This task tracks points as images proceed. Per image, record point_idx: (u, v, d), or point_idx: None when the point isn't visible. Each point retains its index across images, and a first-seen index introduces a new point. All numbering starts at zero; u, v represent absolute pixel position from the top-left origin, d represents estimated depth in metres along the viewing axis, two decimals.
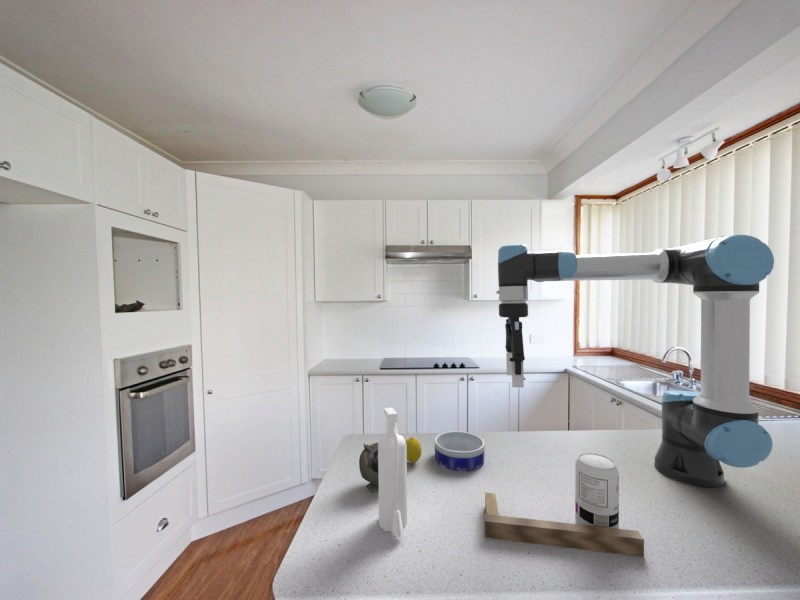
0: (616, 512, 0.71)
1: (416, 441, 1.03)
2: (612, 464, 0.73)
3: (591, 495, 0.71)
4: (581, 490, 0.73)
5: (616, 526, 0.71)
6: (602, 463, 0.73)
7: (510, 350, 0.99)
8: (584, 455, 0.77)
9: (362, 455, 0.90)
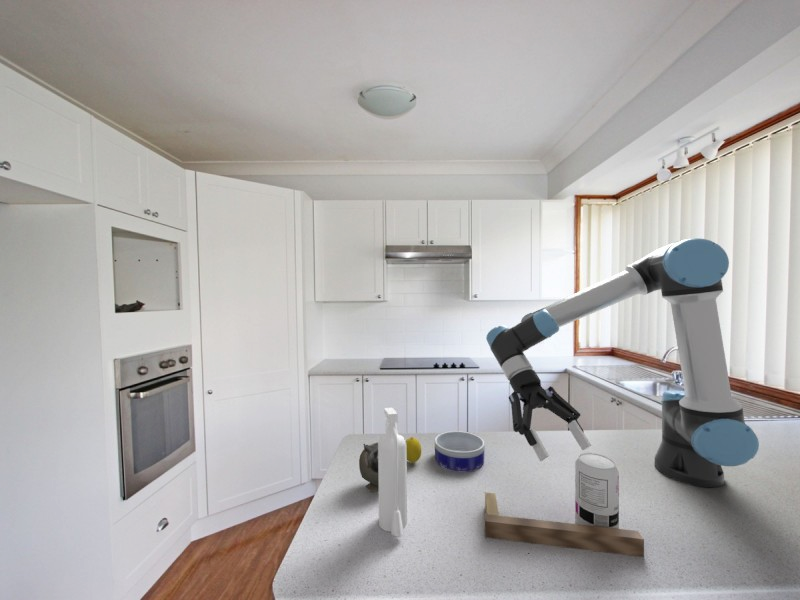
0: (616, 512, 0.71)
1: (416, 441, 1.03)
2: (612, 464, 0.73)
3: (591, 495, 0.71)
4: (581, 490, 0.73)
5: (616, 526, 0.71)
6: (602, 463, 0.73)
7: (570, 420, 0.88)
8: (584, 455, 0.77)
9: (362, 455, 0.90)
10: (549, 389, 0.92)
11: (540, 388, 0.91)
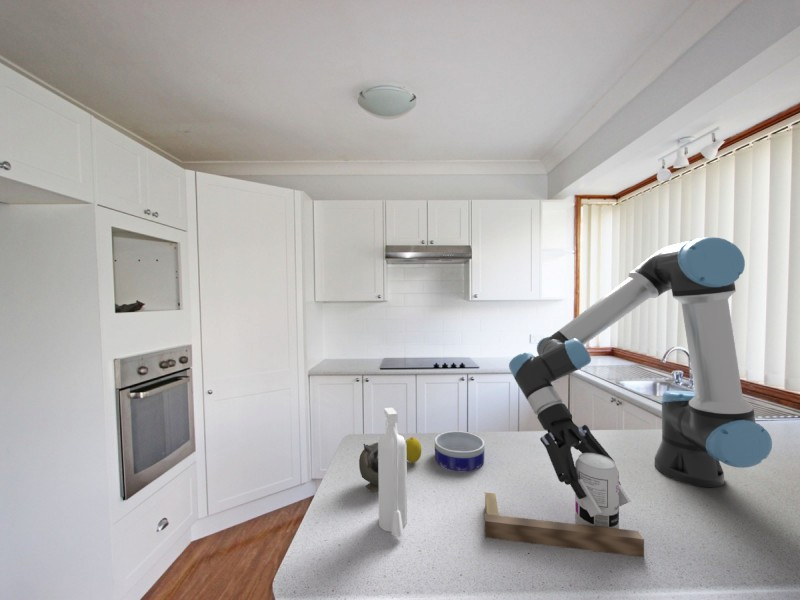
0: (616, 512, 0.71)
1: (416, 441, 1.03)
2: (612, 464, 0.73)
3: (592, 495, 0.71)
4: None
5: (616, 526, 0.71)
6: (602, 463, 0.73)
7: None
8: (584, 455, 0.77)
9: (362, 455, 0.90)
10: (583, 427, 0.83)
11: (572, 424, 0.83)
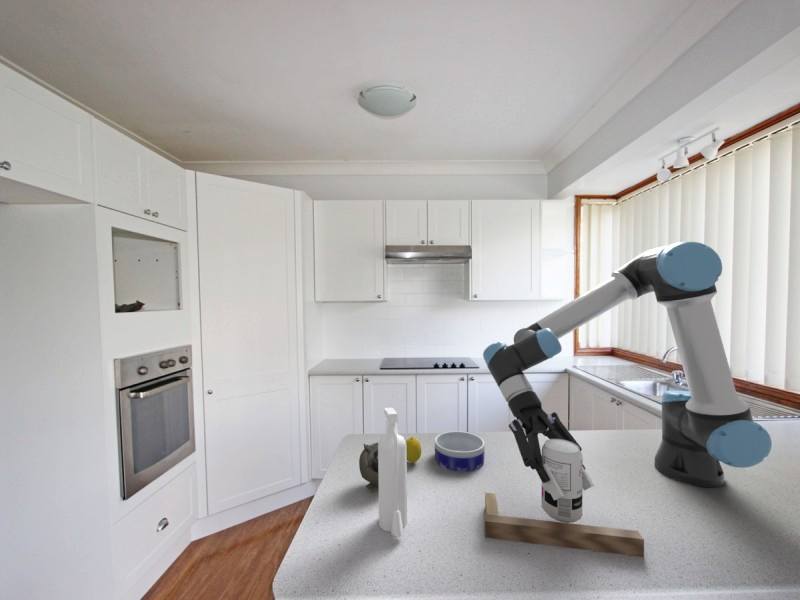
0: (579, 496, 0.72)
1: (416, 441, 1.03)
2: (576, 449, 0.74)
3: None
4: None
5: (579, 509, 0.72)
6: (566, 448, 0.74)
7: None
8: (551, 441, 0.78)
9: (362, 455, 0.90)
10: (552, 415, 0.85)
11: (541, 411, 0.84)
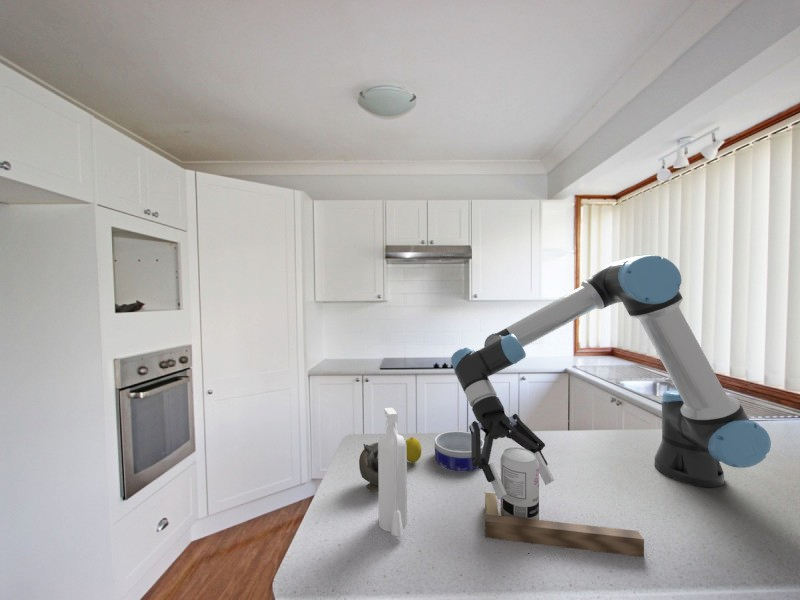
0: (535, 504, 0.74)
1: (416, 441, 1.03)
2: (533, 458, 0.76)
3: (512, 487, 0.74)
4: (504, 483, 0.76)
5: (535, 517, 0.74)
6: (523, 457, 0.76)
7: (534, 451, 0.83)
8: (510, 449, 0.80)
9: (362, 455, 0.90)
10: (513, 417, 0.87)
11: (503, 416, 0.86)
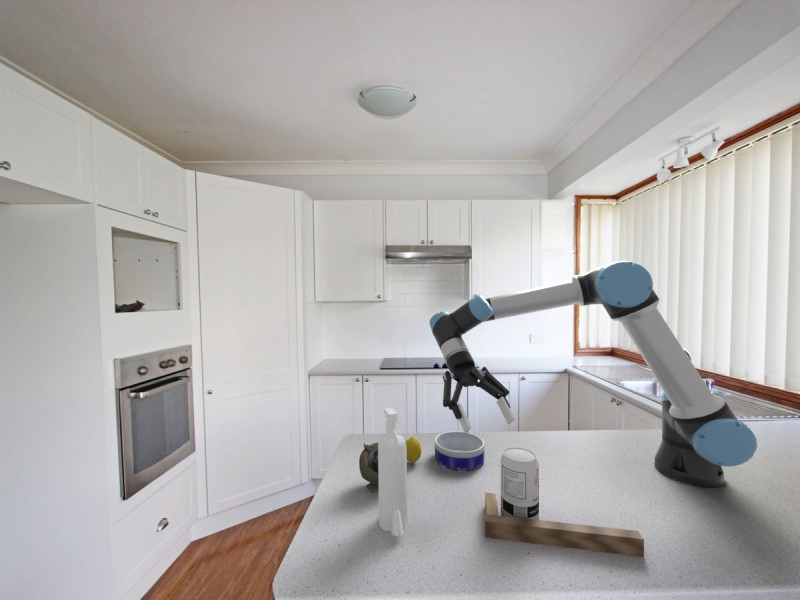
0: (535, 504, 0.74)
1: (416, 441, 1.03)
2: (533, 458, 0.76)
3: (512, 487, 0.74)
4: (504, 483, 0.76)
5: (535, 517, 0.74)
6: (523, 457, 0.76)
7: (499, 397, 0.94)
8: (510, 449, 0.80)
9: (362, 455, 0.90)
10: (482, 369, 0.98)
11: (473, 368, 0.97)
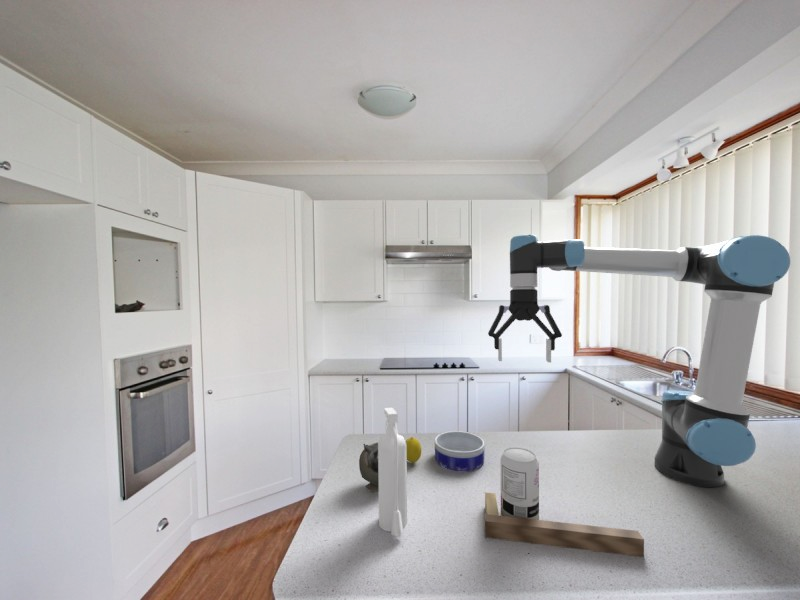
0: (535, 504, 0.74)
1: (416, 441, 1.03)
2: (533, 458, 0.76)
3: (512, 487, 0.74)
4: (504, 483, 0.76)
5: (535, 517, 0.74)
6: (523, 457, 0.76)
7: (549, 337, 0.99)
8: (510, 449, 0.80)
9: (362, 455, 0.90)
10: (544, 307, 0.98)
11: (534, 305, 0.98)
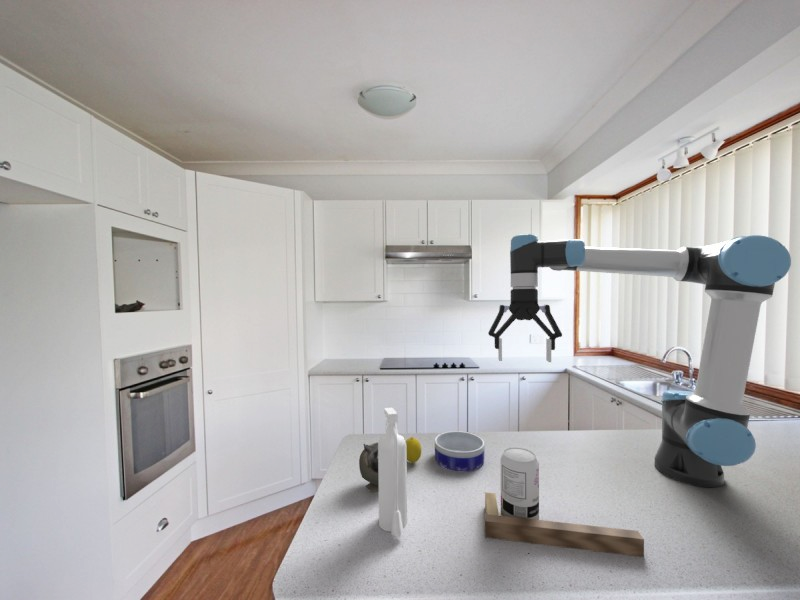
0: (535, 504, 0.74)
1: (416, 441, 1.03)
2: (533, 458, 0.76)
3: (512, 487, 0.74)
4: (504, 483, 0.76)
5: (535, 517, 0.74)
6: (523, 457, 0.76)
7: (549, 336, 0.99)
8: (510, 449, 0.80)
9: (362, 455, 0.90)
10: (545, 307, 0.98)
11: (534, 305, 0.98)
